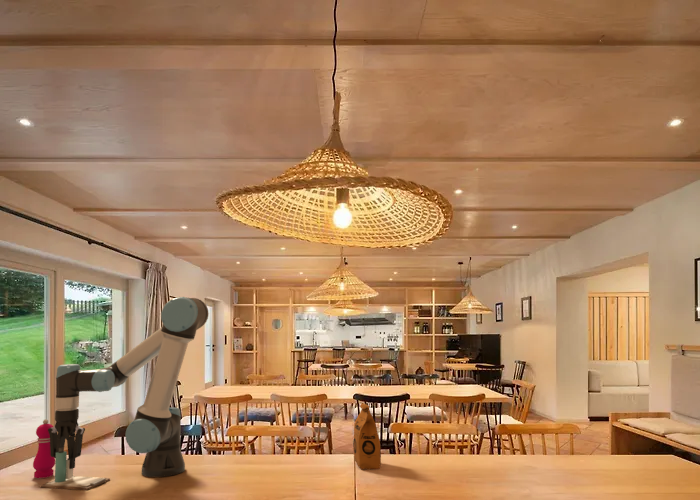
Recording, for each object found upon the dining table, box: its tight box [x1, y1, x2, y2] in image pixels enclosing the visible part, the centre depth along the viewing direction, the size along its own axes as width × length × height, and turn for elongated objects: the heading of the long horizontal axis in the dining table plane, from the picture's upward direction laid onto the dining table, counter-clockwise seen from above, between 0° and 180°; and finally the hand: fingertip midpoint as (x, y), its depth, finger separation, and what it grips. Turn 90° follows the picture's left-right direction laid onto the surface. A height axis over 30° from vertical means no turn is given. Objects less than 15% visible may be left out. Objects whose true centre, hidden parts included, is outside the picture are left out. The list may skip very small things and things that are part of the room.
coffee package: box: [352, 402, 382, 470], centre depth 220 cm, size 10×12×22 cm
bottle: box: [54, 447, 68, 482], centre depth 204 cm, size 3×3×11 cm
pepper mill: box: [32, 419, 56, 479], centre depth 216 cm, size 7×7×20 cm
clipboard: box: [40, 475, 111, 491], centre depth 203 cm, size 18×12×1 cm, turn 77°
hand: (65, 477), depth 206 cm, fingers open, 3 cm apart
